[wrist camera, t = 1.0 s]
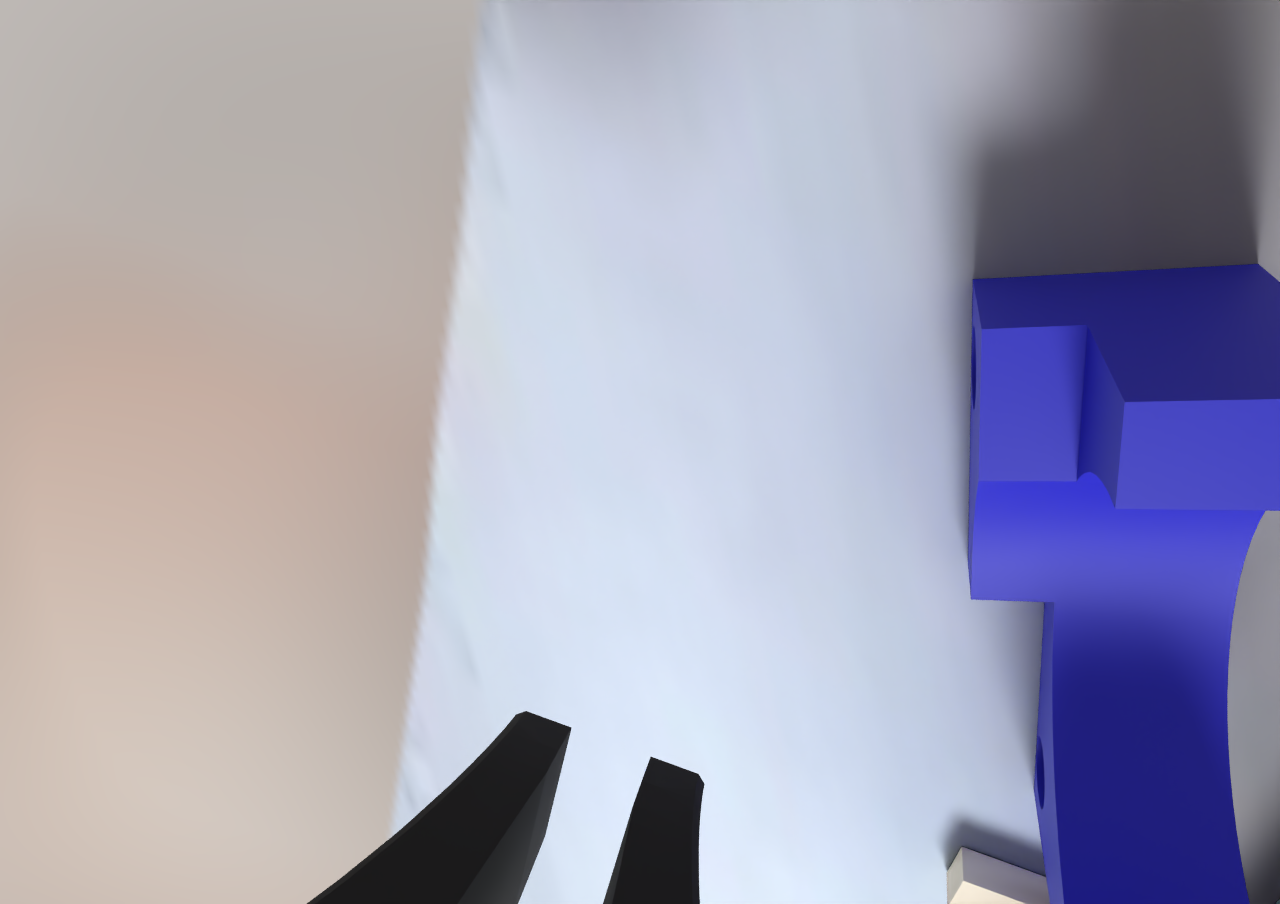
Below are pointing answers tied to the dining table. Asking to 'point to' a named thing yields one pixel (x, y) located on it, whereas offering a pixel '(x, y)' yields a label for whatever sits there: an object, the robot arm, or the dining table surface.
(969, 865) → the pin bay
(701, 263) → the dining table surface
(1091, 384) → the cable clip
